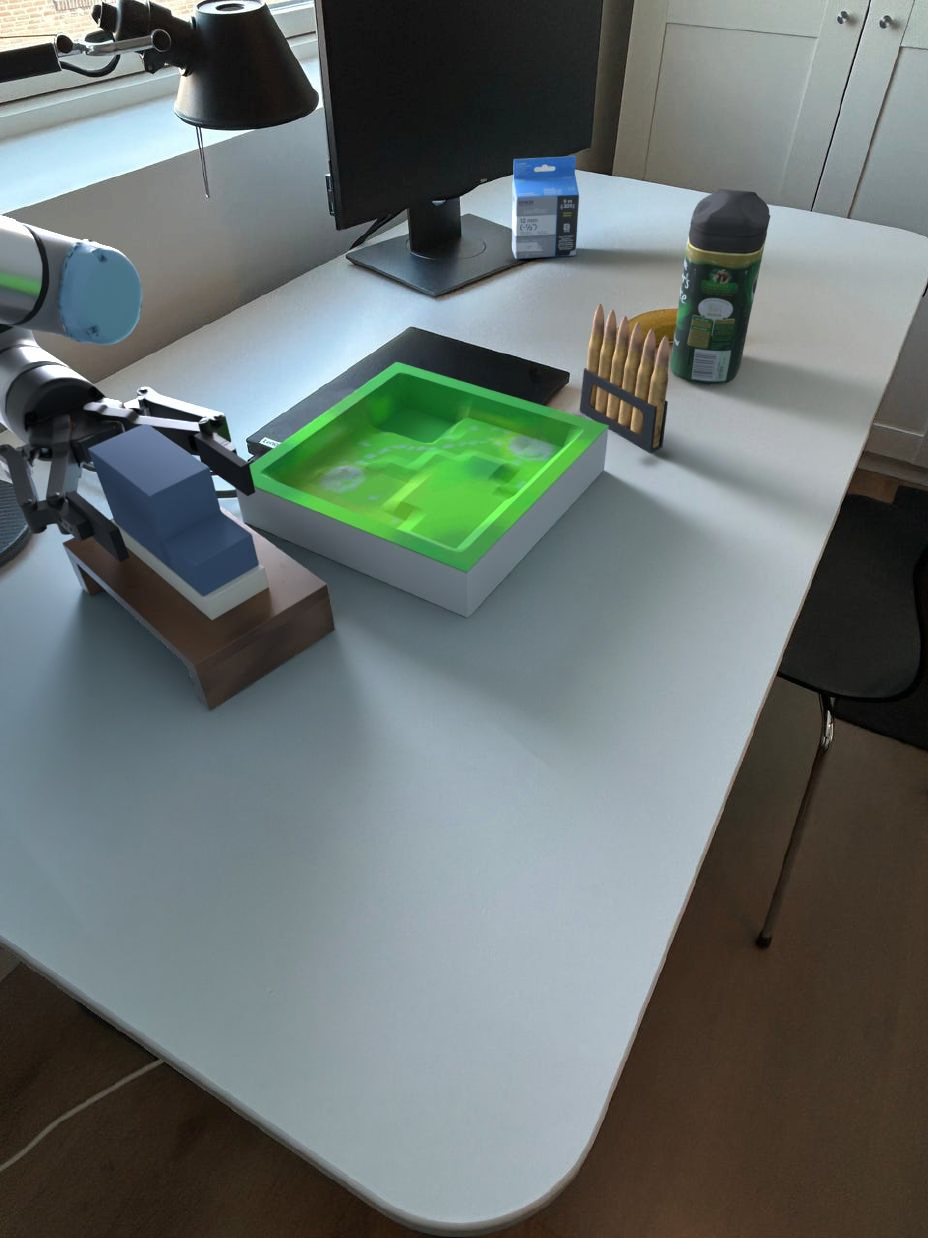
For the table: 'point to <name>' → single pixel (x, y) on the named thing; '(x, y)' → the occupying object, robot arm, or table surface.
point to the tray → (426, 483)
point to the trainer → (177, 520)
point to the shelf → (229, 643)
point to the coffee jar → (718, 285)
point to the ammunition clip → (626, 382)
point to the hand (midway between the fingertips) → (186, 511)
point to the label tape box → (544, 208)
